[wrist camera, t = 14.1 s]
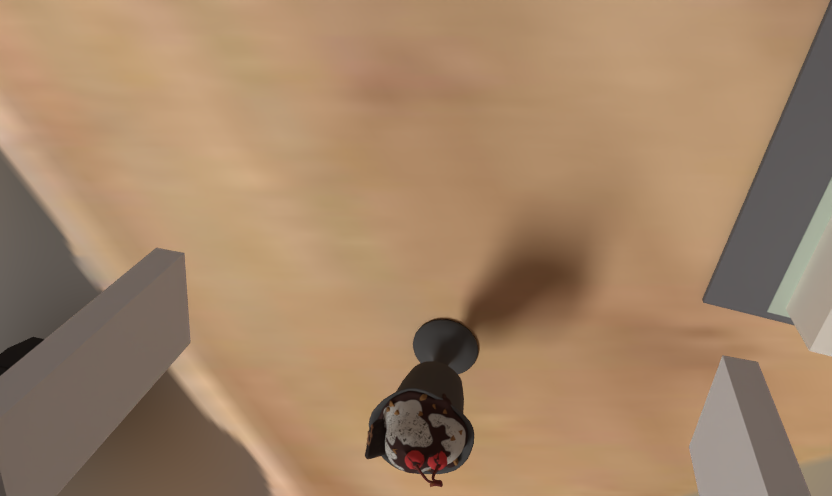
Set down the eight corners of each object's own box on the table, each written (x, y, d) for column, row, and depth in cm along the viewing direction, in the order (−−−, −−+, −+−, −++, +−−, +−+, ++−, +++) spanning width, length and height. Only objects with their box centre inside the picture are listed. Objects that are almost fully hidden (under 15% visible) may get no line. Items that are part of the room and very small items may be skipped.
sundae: (508, 343, 51) (487, 492, 38) (454, 398, 54) (417, 553, 41) (436, 291, 50) (389, 423, 37) (386, 349, 53) (326, 491, 40)
